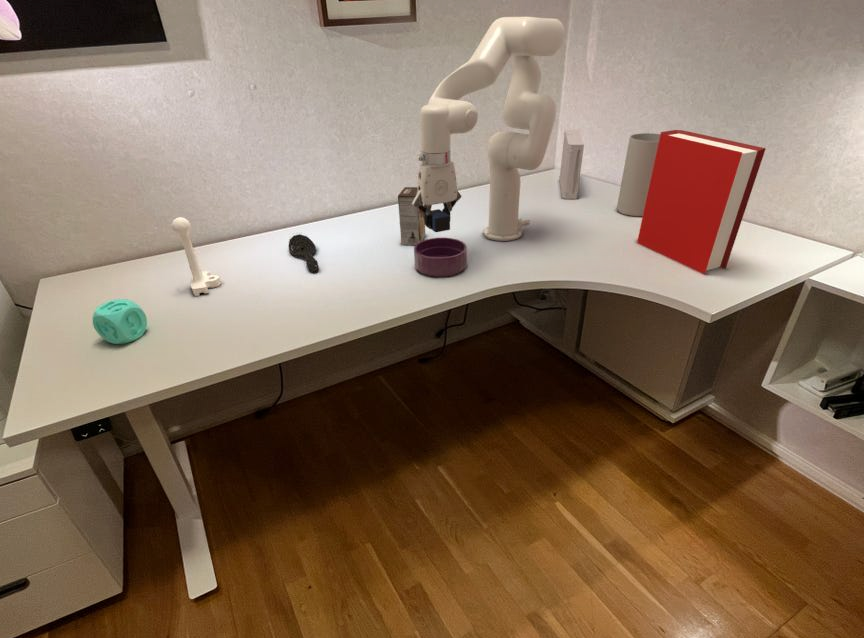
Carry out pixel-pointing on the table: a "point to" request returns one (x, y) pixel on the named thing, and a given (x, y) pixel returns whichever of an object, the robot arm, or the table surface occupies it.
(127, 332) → the decorative dice
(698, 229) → the book
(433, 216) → the eraser
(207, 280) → the joystick
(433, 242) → the bowl
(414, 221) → the coffee box
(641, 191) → the cylinder vase
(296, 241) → the hairbrush
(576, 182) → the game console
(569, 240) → the table surface
